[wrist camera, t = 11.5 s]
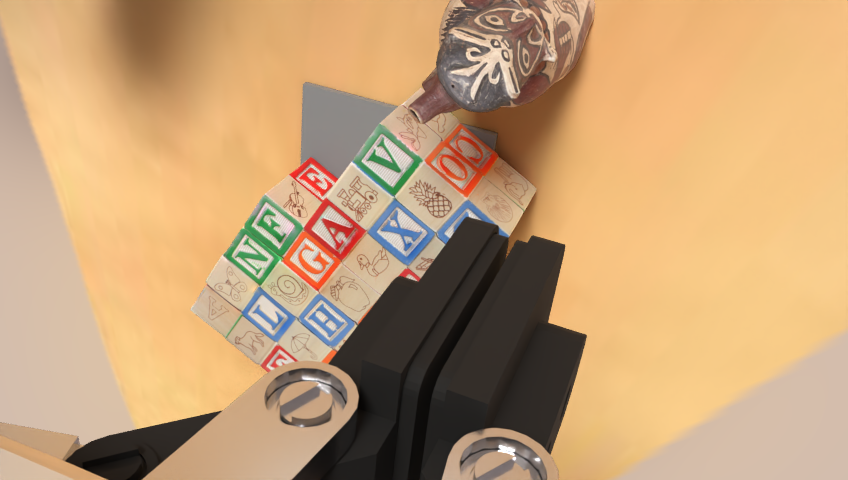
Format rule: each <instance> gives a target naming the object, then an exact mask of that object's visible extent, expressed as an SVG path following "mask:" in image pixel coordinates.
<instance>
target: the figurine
mask: <svg viewBox="0 0 848 480" xmlns="http://www.w3.org/2000/svg"><path fill="white" fill-rule="evenodd" d="M594 12H595V2H594V0H450V2H449V4H448V6H447V8H446V10H445V12H444V14H443V17H442V21H441V25H440V31H439V36H440V38H439V43H440V50H439V52H438V56H437V62H436V66H437V67H436V68H435V69H434V71H433V72H432V73H431V74H430V75H429V76H428V77H427V79H426V80H425V81H424V82H423V83H422V86H423V88H424V90H425V92H424V93H423V94H422V95H421V96H419V97H418V98H417V99H416V100H415V101H414V102H412V103H411V104H410V105H409V106H408V113H409V114H410V115H411V117H412V118H413V119H414V120H415V121H417V122H418V123H420V124H425V123H427V122H428V121H430V120H431V119H433V118H434V117H435V116H437V115H439V114H441V113H449V112H452V111H455V110H457V109H460V108H463V109H466V110H468V111H473V112H489V111H493V110H496V109H498V108H499V107H516V106H520V105H523V104H527V103H530V102H532V101H533V100H535V99H536V98H538V97H539V96H541V95H542V94H544V93H545V92H546V91H547V89H549V88H550V87H551V86H552V85H553V84H554V83H556V82H558V81H559V80H561V79H562V78H564V77H565V76H566V75H567V74H568V73H569V72H570V71H571V70H572V69H573V68H574V67H575V65H576V63H577V61H578V59H579V57H580V55H581V51H582V49H583V46H584V44H585V40H586V37H587V34H588V31H589V28H590V26H591V24H592V22H593V21H594Z"/></svg>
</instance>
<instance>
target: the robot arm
mask: <svg viewBox="0 0 848 480" xmlns="http://www.w3.org/2000/svg"><path fill="white" fill-rule="evenodd" d="M507 248H508V237H505V236H502V235H499V226H498V225H495V224H492V223H488V222H485V221H482V220H478V219H475V218H471V217H465V218H464V219H463V221H462V222H461V224H460V225H459V226H458V228H457V229H456V230H455V232H454V233H453V235H452V236H451V237H450V239H449V240H448V242H447V243H446V244H445V246H444V247H443V248H442V250H441V251H440V253H439V254H438V255H437V257H436V258H435V259H434V261H433V262H432V264H431V265H430V266H429V268H428V269H427V270H426V272H425V273H424V275H423V276H422V277H421V279H420V280H419V282H418V281H415V280H412V279H409V278H406V277H403V276H398V277H396V278H395V279H394V280H393V281H392V282H391V283H390V285H389V286H388V287H387V289H386V290H385V291H384V292H383V294H382V295H381V296H380V298H379V299H378V300H377V301H376V303H375V304H374V305H373V307H372V308H371V309H370V310H369V312H368V313H367V314H366V316H365V317H364V318H363V319H362V321H361V322H360V323H359V325H358V326H357V327H356V328H355V330H354V331H353V332H352V334H351V335H350V336H349V337H348V339H347V340H346V341H345V343H344V344H343V345H342V346H341V348H340V349H339V350H338V352H337V353H336V354H335V355H334V357H333V358H332V359H331V361H330V362H329V363H328V364H326V363H324V362H316V361H298V362H291V363H288V364H285V365H282V366H279V367H276V368H275V369H273V370H272V371H270V372H269V373H267V374H265V375H264V376H263V377H262V378H261V379H259V380H258V381H257V382H256V383H255V384H254V385H252V386H251V387H250V388H249V389H248V390H247V391H245V392H244V393H243V394H242V395H241V396H240V397H238V398H237V399H236V400H235V401H234V402H232V403H231V404H230V405H229V406H228V407H227V408H225V409H224V410H223V411H219V412H214V413H209V414H205V415H200V416H196V417H191V418H187V419H182V420H178V421H173V422H168V423H164V424H159V425H155V426H150V427H146V428H141V429H136V430H132V431H127V432H123V433H119V434H114V435H109V436H106V437H103V438H100V439H97V440H94V441H91V442H90V443H88V444H86V445H80V443H79V438H78V436H74V435H69V434H63V433H57V432H51V431H46V430H41V429H35V428H29V427H24V426H18V425H13V424H7V423H2V422H0V480H559V474H558V469H557V467H556V465H555V462H554V460H553V458H552V456H551V455H550V454H551V451H552V448H553V446H554V443H555V440H556V437H557V434H558V431H559V428H560V426H561V423H562V420H563V417H564V414H565V411H566V408H567V404H568V401H569V398H570V395H571V392H572V388H573V385H574V382H575V378H576V375H577V371H578V367H579V364H580V360H581V356H582V353H583V349H584V345H585V341H586V337H587V335H585V334H582V333H579V332H576V331H572V330H569V329H566V328H563V327H560V326H557V325H554V324H550V323H548V320H549V315H550V311H551V307H552V303H553V298H554V294H555V290H556V286H557V281H558V277H559V273H560V269H561V264H562V260H563V256H564V251H565V244H561V243H558V242H554V241H551V240H547V239H544V238H540V237H537V236H531V238H530V240H529V241H528V243H526V242H523V241H519V240H517V241H516V243H515V244H514V246H513V248H512V250H511V251H510V253H509V255H508V256H507V258H506V253H507ZM505 259H506V260H505Z"/></svg>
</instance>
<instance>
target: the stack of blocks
mask: <svg viewBox="0 0 848 480" xmlns="http://www.w3.org/2000/svg"><path fill="white" fill-rule="evenodd" d="M424 92H425V90H423V89H422V88H420V89H419V90H418V91H417V92H416V93H414V94H413V95H412V96H411V97H410V98H409V99H407V100H406V101H405V102H404V103H403V104H402V105H400V106H398V107H397V108H396V109H395V110H394V111H393V112H392V113H391V114H390V115H388V116H387V117H386V118H385V119H384V120H383V121H382V122H381V123H380V124H379V125H378V126H377V127H376V129H375V130H374V131H373V133H372V134H371V135H370V137H369V138H368V139H367V141H366V142H365V144H364V145H363V146H362V148H361V149H360V151H359V152H358V153H357V155H356V156H355V157H354V160H353V161H352V162H351V163H350V164H349V166H348V167H347V168H346V170H345V171H344V172H343V174H342V175H341V176H340V178H339V179H338V178H337V177H335V176H334V175H333V174H332V173H330V172H329V171H328V170H327V169H325V167H323V166H322V165H321V164H320V163H318V162H317V161H316V160H315V159H313V158H312V157H310V158H309V159H308V160H306V161H305V162H304V163H303V164H302V165H300V166H299V167H298V168H297V169H296V170H295V171H293V172H292V173H291V174H289V175H288V176H287V177H286V178H284V179H283V180H282V181H281V182H279V183H278V184H277V185H275V186H274V187H273V188H272V189H270V190H269V191H268V192H267V193H265V194H264V195H263V197H262V198H261V200H260V201H259V203H258V204H257V206H256V207H255V209H254V211H253V212H252V214H251V215H250V217H249V218H248V220H247V221H246V223H245V226H244V227H243V228H242V229H241V230H240V232H239V233H238V235H237V236H236V238H235V239H234V241H233V242H232V244H231V245H230V247H229V248H228V250H227V251H226V252H225V253H224V254H223V255H222V256H221V258H220V259H219V261H218V262H217V264H216V265H215V267H214V269H213V270H212V272H211V273H210V275H209V276H208V278H207V279H206V283H207V285H206V286H205V288H204V289H203V291H202V292H201V294H200V295H199V297H198V299H197V300H196V302H195V303H194V305H193V306H192V308H191V311H192V312H193V313H195V314H196V315H197V316H198V317H200V318H201V319H202V320H203V321H205V322H206V323H207V324H208V325H210V326H211V327H212V328H214V329H215V330H216V331H217V332H219V333H220V334H221V335H223V336H224V337H225V339H226V340H227V341H229V342H230V343H231V344H232V345H234V346H235V347H236V348H237V349H238V350H240V351H241V352H242V353H244V354H245V355H246V356H247V357H248V358H250V359H251V360H252V361H253V362H255V363H256V364H259V365H260V366H261V367H262V368H263V369H265V370H266V371H267V372H268V373H269V372H270V371H272V370H273V369H275V368H276V367H279V366H282V365H285V364H288V363H291V362H298V361H316V362H324V363H326V364H328V363H329V362H330V361H331V359H332V358H333V357H334V355H335V354H336V353H337V352H338V350H339V349H340V348H341V346H342V345H343V344H344V343H345V341H346V340H347V339H348V337H349V336H350V335H351V334H352V332H353V331H354V330H355V328H356V327H357V326H358V325H359V323H360V322H361V321H362V319H363V318H364V317H365V316H366V314H367V313H368V312H369V310H370V309H371V308H372V307H373V305H374V304H375V303H376V301H377V300H378V299H379V298H380V296H381V295H382V294H383V292H384V291H385V290H386V289H387V287H388V286H389V285H390V283H391V282H392V281H393V280H394V279H395V278H396V277H398V276H403V277H406V278H409V279H412V280H415V281H418V282H419V280H420V279H421V277H422V276H423V275H424V273H425V272H426V270H427V269H428V268H429V266H430V265H431V264H432V262H433V261H434V259H435V258H436V257H437V255H438V254H439V253H440V251H441V250H442V248H443V247H444V246H445V244H446V243H447V242H448V240H449V239H450V237H451V236H452V235H453V233H454V232H455V230H456V229H457V228H458V226H459V225H460V224H461V222H462V221H463V219H464V218H465V217H471V218H475V219H478V220H482V221H485V222H488V223H492V224H495V225H498V226H499V235H502V236H505V237H508V238H509V236H510V235H511V233H512V232H513V230H514V228H515V227H516V225H517V223H518V222H519V220H520V218H521V216H522V215H523V212H524V211H525V210H526V208H527V206H528V205H529V203H530V201H531V199H532V197H533V196H534V194H535V192H536V190H537V189H536V188H535V187H534V186H533V185H532V184H531V183H530V182H529V181H528V180H527V179H525V178H524V177H523V176H522V175H521V174H519V173H518V172H517V171H516V170H515V169H513V168H512V167H511V166H510V165H508V164H507V163H506V162H505V161H504V160H502V159H501V158H499V157H498V154H497V153H496V152H495V151H493V150H492V149H491V148H490V147H489V146H487V145H486V144H485V143H484V142H483V141H481V140H480V139H479V138H478V137H477V136H476V135H474V134H473V133H472V132H471V131H469V130H468V129H467V128H466V127H464V126H463V125H462V124H460V123H459V120H458V119H457V118H456V117H455V116H454V115H453V114H451V113H450V112H449V113H441V114H439V115H437V116H435V117H434V118H433V119H431V120H430V121H428V122H427V123H425V124H420V123H418V122H417V121H415V120H414V119H413V118H412V117H411V115H410V114H409V113H408V106H409V105H410V104H411V103H412V102H414V101H415V100H416V99H417V98H418V97H419V96H421V95H422V94H423V93H424Z"/></svg>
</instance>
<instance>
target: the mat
mask: <svg viewBox="0 0 848 480" xmlns="http://www.w3.org/2000/svg"><path fill="white" fill-rule="evenodd" d="M397 107H398V106H394V105H391V104H387V103H383V102H380V101H376V100H372V99H368V98H365V97H361V96H357V95H353V94H350V93H346V92H342V91H338V90H335V89H331V88H327V87H323V86H320V85H316V84H312V83H309V82H305V83H304V84H303V104H302V138H301V165H302V164H303V163H304V162H305V161H306V160H308V159H309V158H310V157H312V158H313V159H315V160H316V161H317V162H318V163H320V164H321V165H322V166H323V167H325V169H327V170H328V171H329V172H330V173H332V174H333V175H334V176H335V177H337V178H338V179H339V178H340V176H341V175H342V174H343V172H344V171H345V170H346V168H347V167H348V166H349V164H350V163H351V162H352V161H353V160H354V157H355V156H356V155H357V153H358V152H359V151H360V149H361V148H362V146H363V145H364V144H365V142H366V141H367V139H368V138H369V137H370V135H371V134H372V133H373V131H374V130H375V129H376V127H377V126H378V125H379V124H380V123H381V122H382V121H383V120H384V119H385V118H386V117H387V116H388V115H390V114H391V113H392V112H393V111H394V110H395V109H396V108H397ZM460 124H462V123H460ZM462 125H463V126H464V127H466V128H467V129H468V130H469V131H471V132H472V133H473V134H474V135H476V136H477V137H478V138H479V139H480V140H481V141H483V142H484V143H485V144H486V145H487V146H489V147H490V148H491V149H492V150H493V151H495V145H496V140H497V134H498V133H495V132H492V131H488V130H484V129H480V128H477V127H473V126H469V125H465V124H462Z"/></svg>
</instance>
